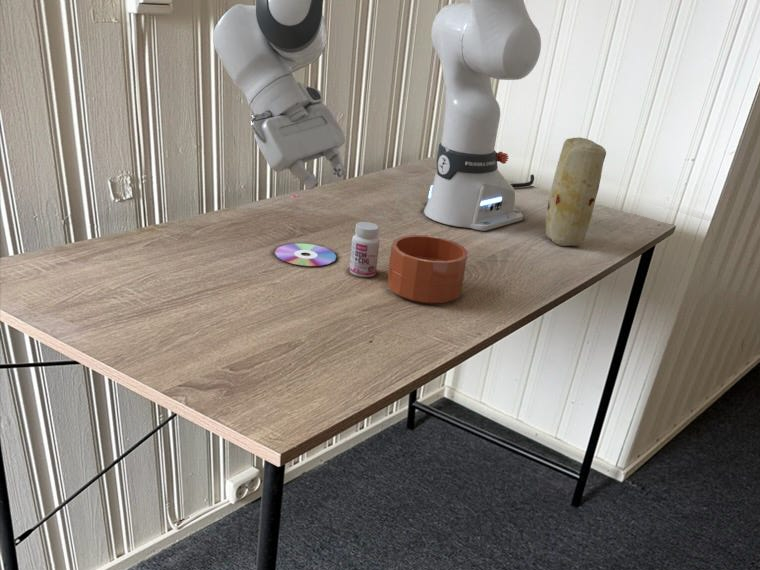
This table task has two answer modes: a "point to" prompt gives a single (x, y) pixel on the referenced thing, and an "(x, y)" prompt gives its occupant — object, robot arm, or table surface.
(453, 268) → the pot
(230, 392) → the table surface
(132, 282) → the table surface
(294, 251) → the cd
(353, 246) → the pill bottle
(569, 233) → the food model
